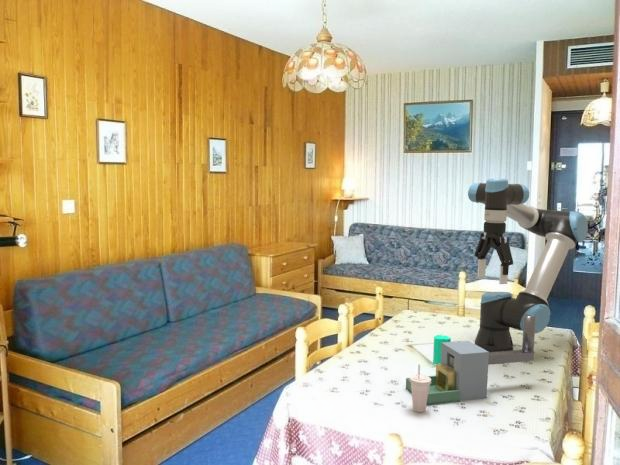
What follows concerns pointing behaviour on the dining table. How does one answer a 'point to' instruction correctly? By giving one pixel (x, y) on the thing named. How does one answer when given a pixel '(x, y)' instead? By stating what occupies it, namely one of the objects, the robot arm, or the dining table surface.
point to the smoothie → (420, 391)
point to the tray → (437, 393)
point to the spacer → (440, 378)
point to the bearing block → (467, 368)
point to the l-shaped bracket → (515, 355)
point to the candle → (439, 347)
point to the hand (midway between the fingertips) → (491, 280)
